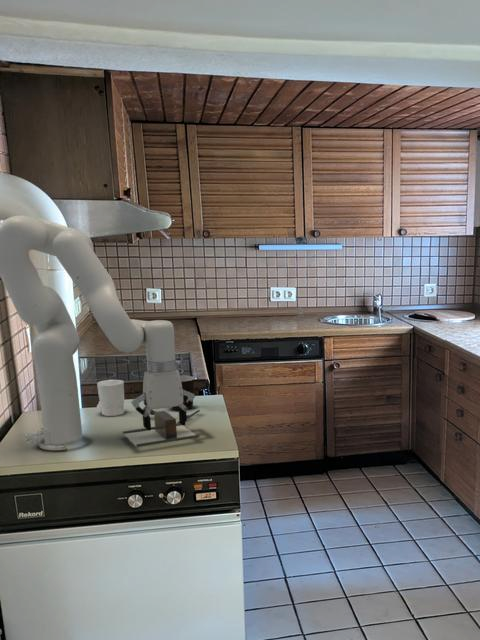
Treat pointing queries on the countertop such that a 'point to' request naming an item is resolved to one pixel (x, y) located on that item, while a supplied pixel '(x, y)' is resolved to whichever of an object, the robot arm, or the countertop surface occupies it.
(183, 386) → the coffee mug
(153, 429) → the memo board
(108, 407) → the white cup
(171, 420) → the eraser
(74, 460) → the countertop surface
